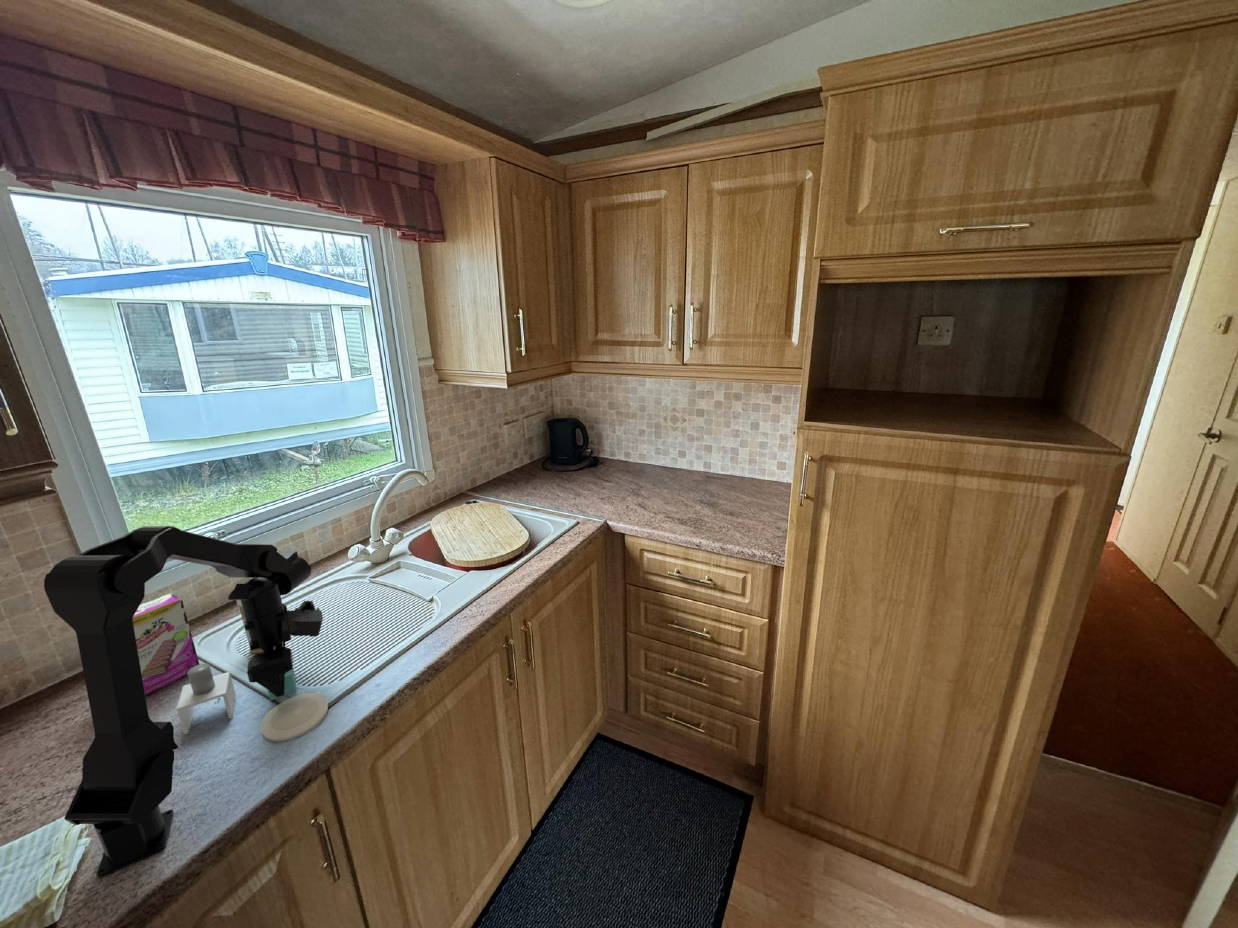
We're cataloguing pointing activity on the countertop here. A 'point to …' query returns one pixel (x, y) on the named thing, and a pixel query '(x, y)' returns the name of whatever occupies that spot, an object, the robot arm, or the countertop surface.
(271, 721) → the saucer
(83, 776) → the robot arm
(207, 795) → the countertop surface
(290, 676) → the block
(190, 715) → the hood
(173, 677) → the candy bar box
